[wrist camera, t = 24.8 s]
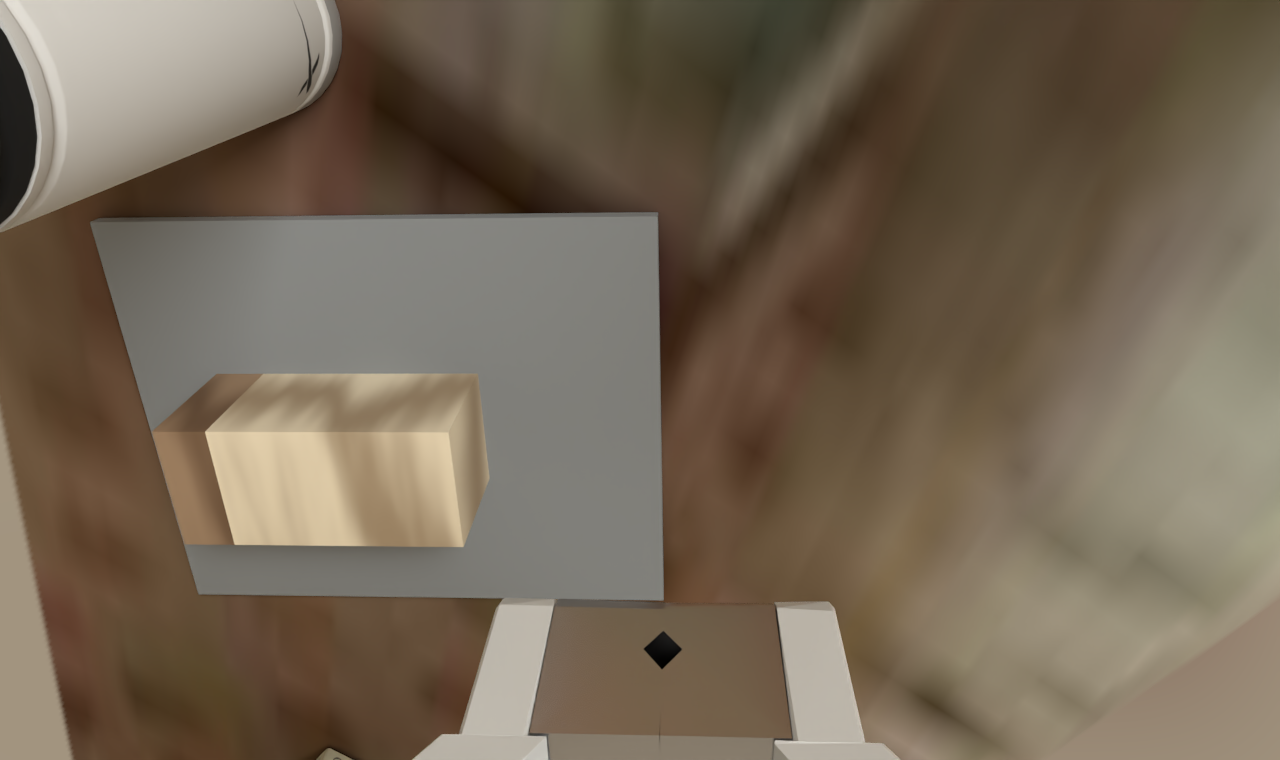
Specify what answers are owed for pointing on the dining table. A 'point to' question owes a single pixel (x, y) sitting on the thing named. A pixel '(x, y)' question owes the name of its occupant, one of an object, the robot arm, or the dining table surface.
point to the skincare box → (332, 755)
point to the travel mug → (144, 86)
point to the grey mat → (430, 344)
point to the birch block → (327, 460)
